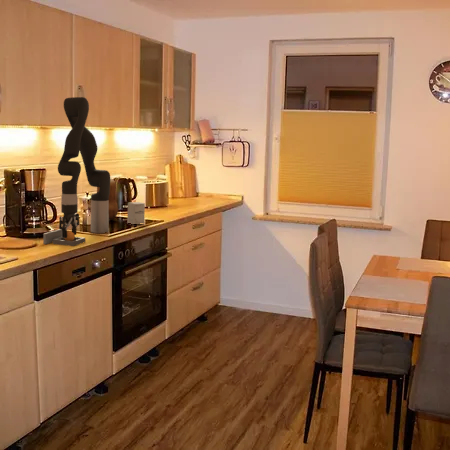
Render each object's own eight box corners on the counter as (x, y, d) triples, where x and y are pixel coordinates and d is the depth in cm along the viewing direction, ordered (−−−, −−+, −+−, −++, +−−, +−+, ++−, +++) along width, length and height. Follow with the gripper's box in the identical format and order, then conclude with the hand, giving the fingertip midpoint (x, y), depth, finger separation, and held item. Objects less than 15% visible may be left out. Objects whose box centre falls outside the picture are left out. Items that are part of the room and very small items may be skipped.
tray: (65, 239, 297) (65, 235, 296) (85, 242, 294) (85, 237, 293) (53, 243, 286) (53, 239, 286) (73, 246, 283) (73, 241, 283)
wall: (61, 238, 300) (61, 228, 299) (63, 238, 300) (63, 228, 299) (43, 243, 285) (43, 233, 284) (45, 244, 285) (45, 233, 284)
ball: (67, 240, 293) (67, 230, 292) (76, 241, 292) (76, 231, 291) (62, 242, 288) (62, 231, 287) (71, 243, 287) (71, 232, 286)
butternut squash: (90, 221, 354) (91, 179, 350) (101, 218, 367) (101, 177, 363) (112, 223, 351) (112, 180, 346) (122, 220, 363) (122, 178, 359)
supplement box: (133, 225, 346) (134, 203, 344) (127, 223, 352) (127, 202, 350) (144, 224, 351) (145, 203, 349) (137, 222, 357) (138, 201, 354)
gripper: (70, 200, 295) (70, 233, 297) (54, 204, 281) (54, 238, 284) (84, 201, 293) (83, 234, 295) (68, 205, 279) (68, 239, 282)
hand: (69, 236), depth 290 cm, fingers open, 8 cm apart
